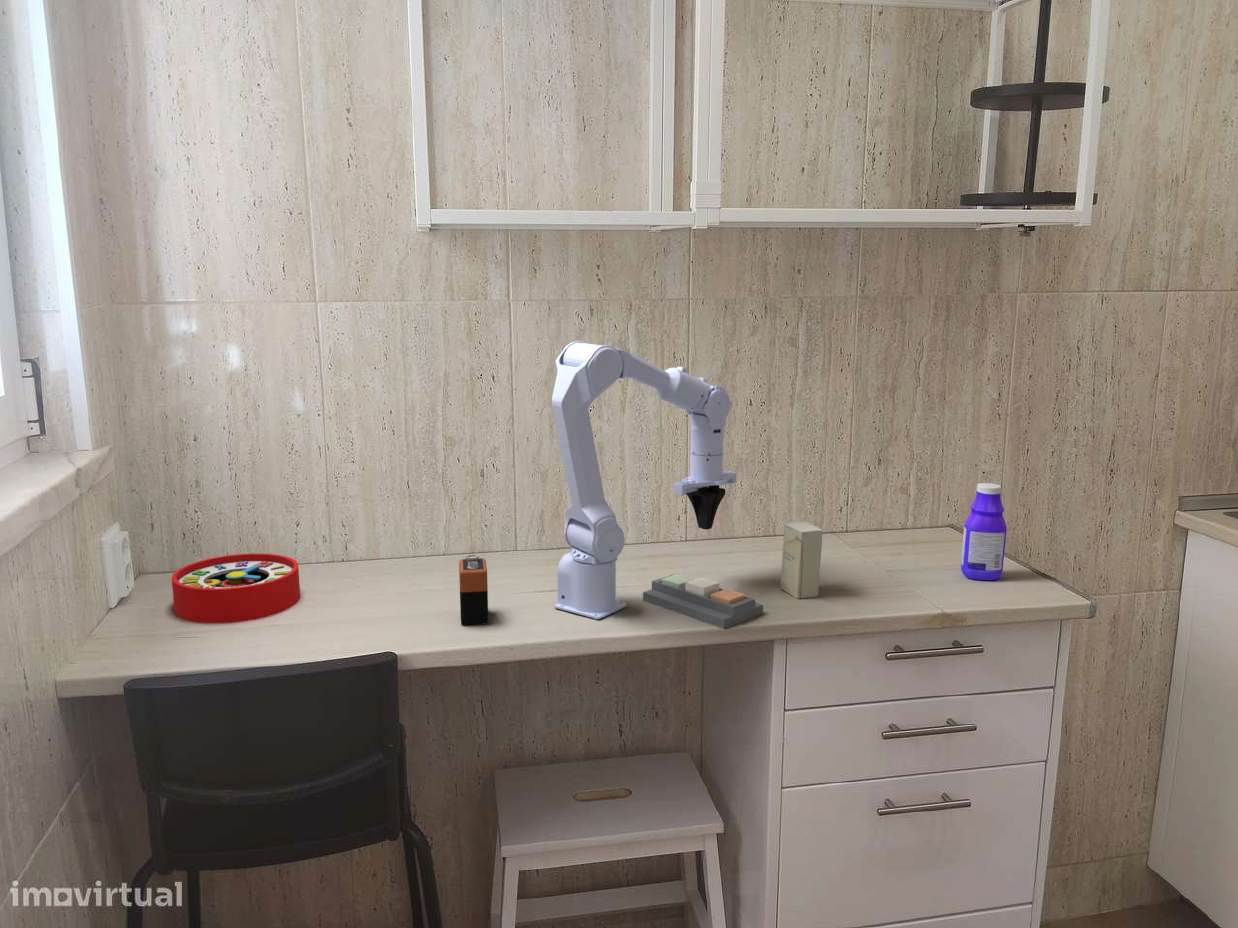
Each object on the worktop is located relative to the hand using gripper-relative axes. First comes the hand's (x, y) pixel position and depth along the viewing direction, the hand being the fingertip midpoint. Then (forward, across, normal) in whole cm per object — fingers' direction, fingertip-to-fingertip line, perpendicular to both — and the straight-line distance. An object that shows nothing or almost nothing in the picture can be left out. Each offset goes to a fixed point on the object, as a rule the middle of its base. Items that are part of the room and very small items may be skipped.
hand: (705, 528), depth 175 cm
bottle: (+11, +40, -32) cm, 53 cm away
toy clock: (+11, -64, +48) cm, 81 cm away
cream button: (+8, -9, -8) cm, 14 cm away
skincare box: (+11, +9, -15) cm, 20 cm away
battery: (+11, -40, +14) cm, 44 cm away
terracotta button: (+8, -9, -13) cm, 18 cm away
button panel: (+10, -9, -8) cm, 16 cm away
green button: (+8, -9, -2) cm, 13 cm away
